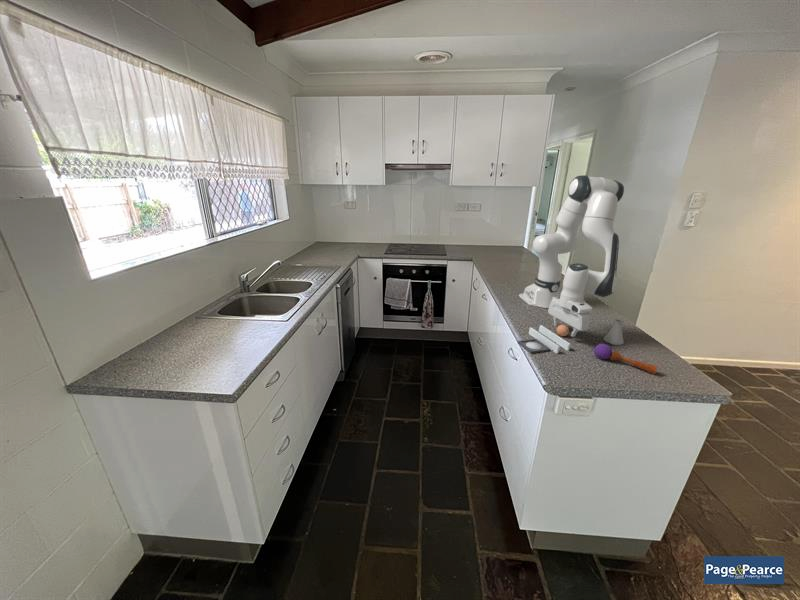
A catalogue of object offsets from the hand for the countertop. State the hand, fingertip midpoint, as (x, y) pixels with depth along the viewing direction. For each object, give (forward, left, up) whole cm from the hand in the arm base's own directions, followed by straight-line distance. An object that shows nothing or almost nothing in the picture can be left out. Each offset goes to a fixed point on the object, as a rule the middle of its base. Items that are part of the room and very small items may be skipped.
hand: (564, 331), depth 142 cm
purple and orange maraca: (+25, +6, -3) cm, 26 cm away
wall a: (+2, -7, -2) cm, 8 cm away
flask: (+9, +18, -3) cm, 20 cm away
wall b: (+3, -13, -2) cm, 14 cm away
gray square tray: (+5, -19, -2) cm, 20 cm away
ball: (-1, 0, -2) cm, 2 cm away
